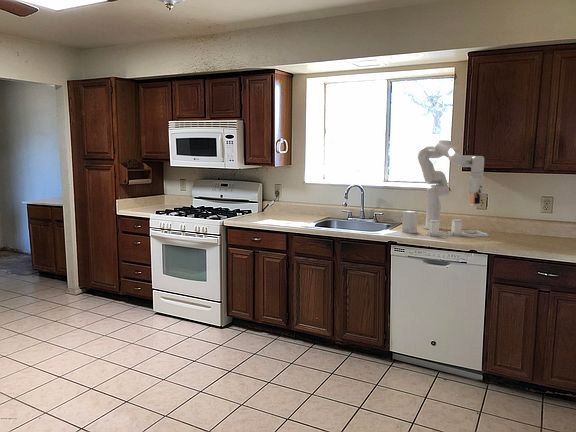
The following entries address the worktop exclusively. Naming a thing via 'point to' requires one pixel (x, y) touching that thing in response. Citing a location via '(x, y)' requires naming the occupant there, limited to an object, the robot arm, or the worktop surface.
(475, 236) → the tray
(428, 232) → the fuse board
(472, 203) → the marked fuse
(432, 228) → the left fuse
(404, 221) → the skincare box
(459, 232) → the right fuse
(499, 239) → the worktop surface
